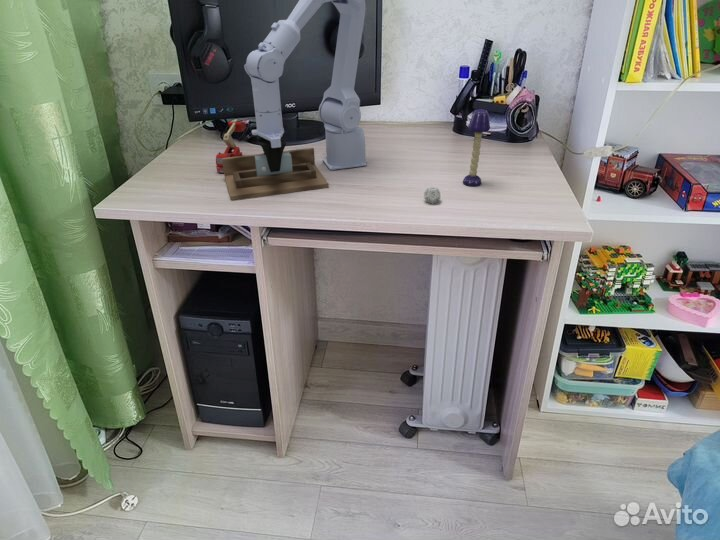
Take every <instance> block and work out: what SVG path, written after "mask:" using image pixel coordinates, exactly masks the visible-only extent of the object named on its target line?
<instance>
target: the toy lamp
mask: <svg viewBox="0 0 720 540" xmlns="http://www.w3.org/2000/svg"><path fill="white" fill-rule="evenodd" d="M490 125H491V123H490V117H489V111H488V110H486V109H483V108H481V109H479V108H478V109H475V110H474V111H473V113H472V115H471V119H470V120H469V124H468V130H469V131H471V132H473V134H474V137H473V144H472V151H471V159H470V162H471V163H470V165H469V168H470V169H469V172H468V173H469V174H467V175H466V176H465V177H463V180H462V183H463V185H465V186H468V187H480V186H481V185H482V178H481V177H480V176H479V175H477V174H478V171H477V169H478V167H479V161H480V157H479V156H481V155H480V154H481V151H480V150H481V147H482V146H481V145H482V144H481V143H482V136H483V133H487V132H489V131H490V129H491V126H490Z"/></svg>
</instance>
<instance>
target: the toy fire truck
mask: <svg viewBox="0 0 720 540" xmlns="http://www.w3.org/2000/svg"><path fill="white" fill-rule="evenodd" d="M228 128H229V129H228V130H227V132H226V133H224V136H223V139H222V140H223V142H224V143H225V144H226V146H227V147H226V149H225V150H224V152H223V153H222V152H218V153H217V154H216V155H215V165H216V172H218V173H221V174H222V173H223V174H224V169H223V163H222V158H227V157H236V156H244V155H243V152H242V151H241V149H240V146H237V145H236V143H235V140H234V139H233V137H232V134H233V133H236V132H237V133H242V132H244V131H245V130H246V128H247V127H246V122H245V121H228Z"/></svg>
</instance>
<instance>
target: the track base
mask: <svg viewBox="0 0 720 540" xmlns="http://www.w3.org/2000/svg"><path fill="white" fill-rule="evenodd" d="M287 152H289V153H290V154H291V158H292V170H293V172H289V173H281V174H273V175H265V176H257V173H256V164H255V156H261V155H264V152H263V153H254V154H246V155H243V156H236V157H227V158H222V163H223V169H224V173H223V174H224V179H225V184H226V187H227V190H228V191H227V192H228V195H229V199H230V201H231V200H232V201H238V199H240V200H246V198H247V199H253V198H259V197H261V198H262V197H269V196H274V195H275V196H276V195H282V194H291V193H296V192H297V193H298V192H299V193H300V192H306V191H313V190H320V189H326V188H327V189H329V187H330V186H329V182H328V181H327V179H326V178H325V177H324V175H323V174H322V173H321V171H320V169H319V168H318V167H317V165H316V160H315V159H316V158H315V148H314V147H305V148H300V149H299V148H297V149H290V150H289V149H288V150H283V153H287Z"/></svg>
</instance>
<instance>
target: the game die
mask: <svg viewBox="0 0 720 540" xmlns="http://www.w3.org/2000/svg"><path fill="white" fill-rule="evenodd" d="M423 198H424V200H425V202H426V203H428V204H431V205H433V204H436V203H438V202H439V200H441V192H440V189H439V188H438V187H435V186H430V187H427V188H426V189H425V191H424V192H423Z"/></svg>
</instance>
